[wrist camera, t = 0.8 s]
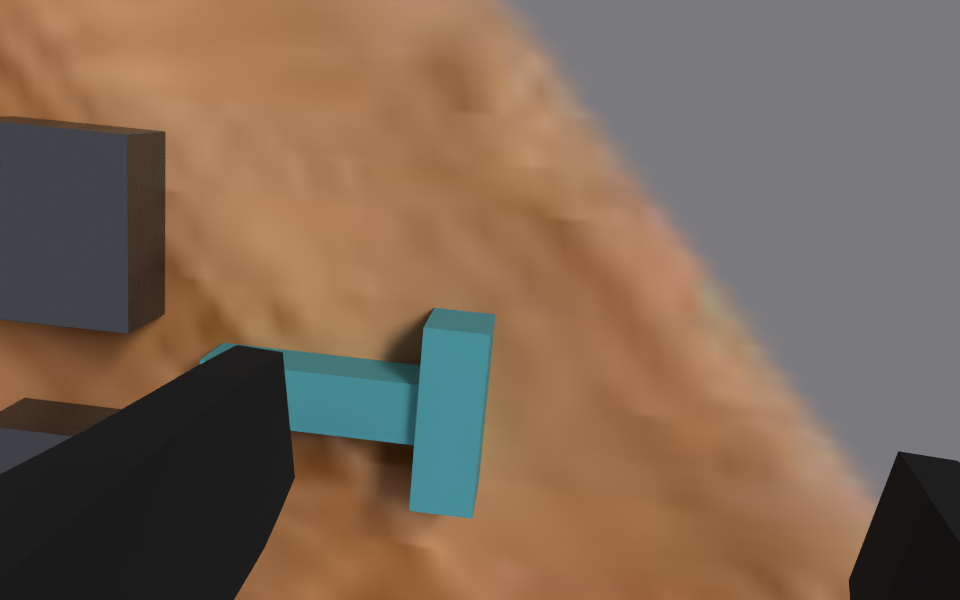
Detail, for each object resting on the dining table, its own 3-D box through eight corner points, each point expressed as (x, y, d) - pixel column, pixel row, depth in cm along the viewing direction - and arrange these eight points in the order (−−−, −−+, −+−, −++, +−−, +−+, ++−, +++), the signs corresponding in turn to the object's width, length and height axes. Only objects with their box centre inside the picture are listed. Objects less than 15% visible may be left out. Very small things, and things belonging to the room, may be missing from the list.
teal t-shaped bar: (478, 483, 29) (472, 518, 26) (221, 452, 29) (191, 483, 27) (495, 314, 27) (490, 334, 25) (225, 284, 28) (194, 301, 25)
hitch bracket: (163, 570, 30) (130, 610, 28) (30, 552, 31) (-15, 591, 28) (165, 131, 27) (126, 134, 24) (13, 116, 27) (-40, 117, 24)
